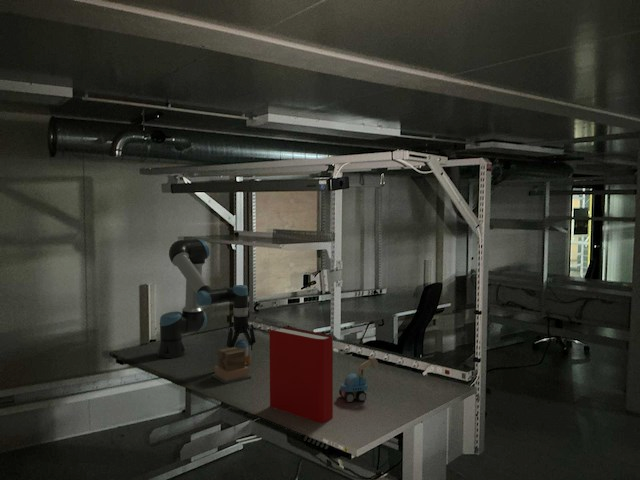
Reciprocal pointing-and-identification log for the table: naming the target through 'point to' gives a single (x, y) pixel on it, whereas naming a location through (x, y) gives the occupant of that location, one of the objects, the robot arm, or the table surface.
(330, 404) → the book
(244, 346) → the toy rocket
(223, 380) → the build base
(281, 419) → the table surface
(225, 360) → the walnut brick
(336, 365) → the table surface
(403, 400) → the table surface
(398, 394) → the table surface
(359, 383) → the toy excavator
